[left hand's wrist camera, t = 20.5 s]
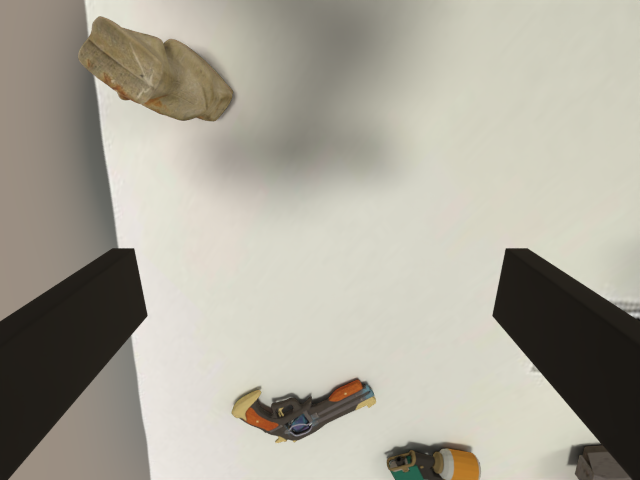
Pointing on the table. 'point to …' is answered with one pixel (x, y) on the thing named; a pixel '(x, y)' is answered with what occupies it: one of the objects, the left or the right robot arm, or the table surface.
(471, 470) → the spray gun
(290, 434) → the toy gun
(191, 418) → the table surface
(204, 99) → the sculpture
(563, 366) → the left robot arm
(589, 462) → the toy
